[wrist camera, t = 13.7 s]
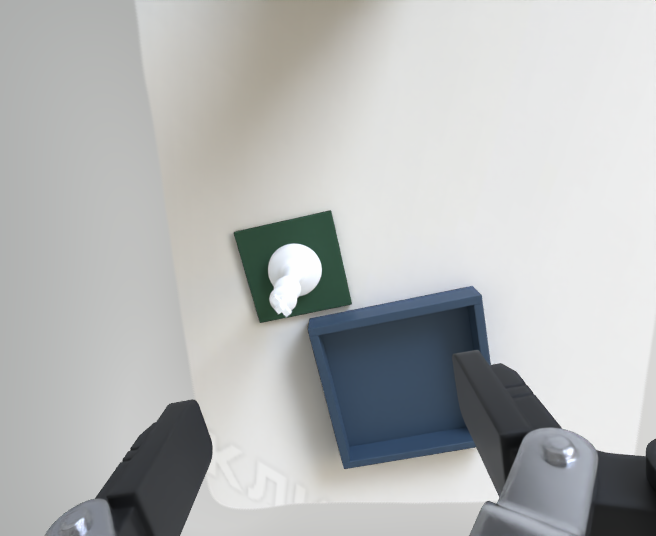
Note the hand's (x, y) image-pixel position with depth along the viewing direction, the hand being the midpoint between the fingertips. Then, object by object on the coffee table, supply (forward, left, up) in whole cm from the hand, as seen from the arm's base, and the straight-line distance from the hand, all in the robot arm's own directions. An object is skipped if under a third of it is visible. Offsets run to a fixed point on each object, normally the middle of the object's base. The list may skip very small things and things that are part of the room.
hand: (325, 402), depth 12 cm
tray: (+15, +4, -25) cm, 29 cm away
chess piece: (+2, -4, -25) cm, 25 cm away
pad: (+2, -4, -25) cm, 25 cm away
